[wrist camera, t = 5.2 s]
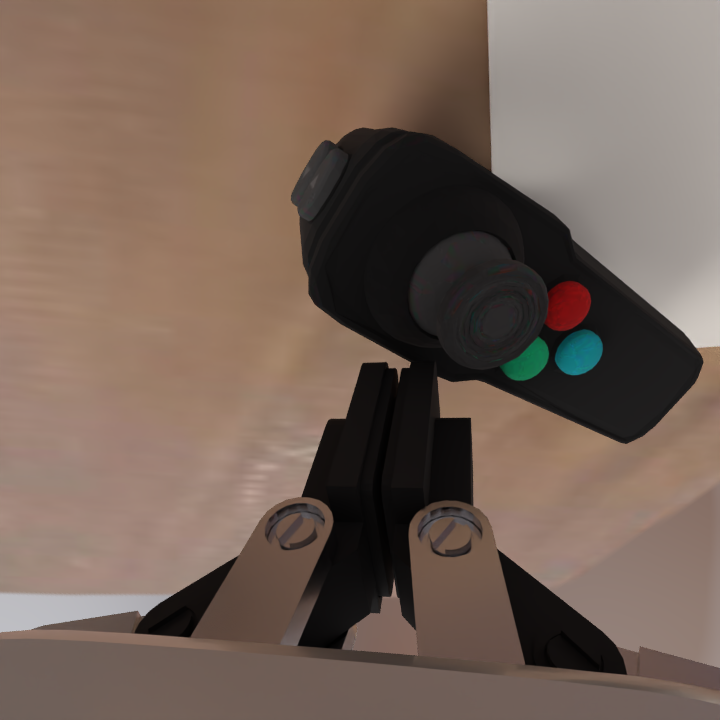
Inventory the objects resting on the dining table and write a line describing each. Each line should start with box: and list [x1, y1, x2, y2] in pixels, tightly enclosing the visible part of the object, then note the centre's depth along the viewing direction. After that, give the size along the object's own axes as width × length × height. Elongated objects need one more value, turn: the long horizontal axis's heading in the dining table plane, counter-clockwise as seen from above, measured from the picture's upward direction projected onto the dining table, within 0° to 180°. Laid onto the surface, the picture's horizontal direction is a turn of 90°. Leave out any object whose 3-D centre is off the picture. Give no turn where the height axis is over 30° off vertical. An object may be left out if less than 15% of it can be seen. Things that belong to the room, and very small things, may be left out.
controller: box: [291, 128, 703, 444], centre depth 15 cm, size 4×12×10 cm, turn 53°
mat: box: [487, 0, 720, 348], centre depth 18 cm, size 14×9×1 cm, turn 9°
